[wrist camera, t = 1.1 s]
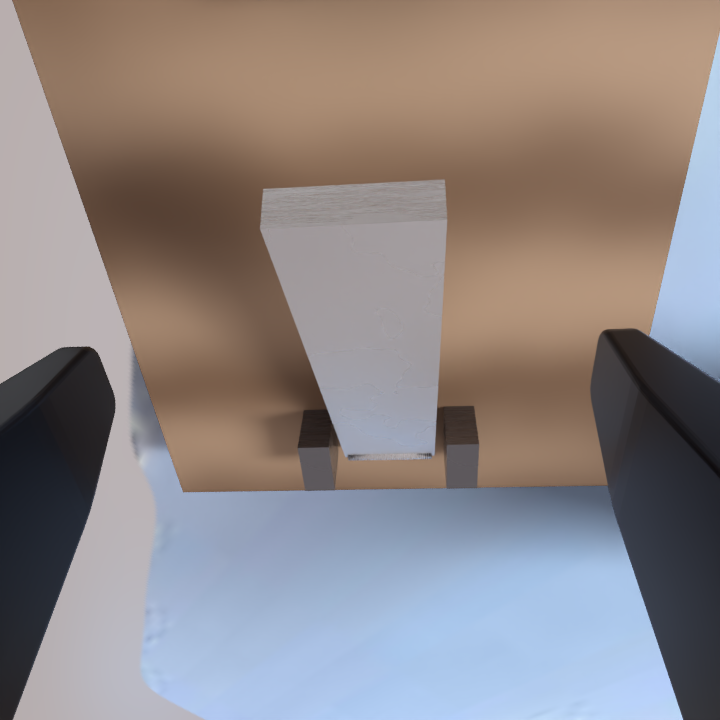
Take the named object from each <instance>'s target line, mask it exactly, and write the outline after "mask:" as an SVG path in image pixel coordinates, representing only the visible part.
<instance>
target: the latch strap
mask: <svg viewBox="0 0 720 720" xmlns="http://www.w3.org/2000/svg"><path fill="white" fill-rule="evenodd" d="M260 230H261V233H262V236H263V238H264V241H265V244H266V246H267V249H268V252H269V254H270V257H271V260H272V262H273V265H274V268H275V270H276V273H277V276H278V278H279V281H280V284H281V286H282V289H283V292H284V294H285V297H286V300H287V302H288V305H289V308H290V311H291V313H292V316H293V319H294V321H295V324H296V327H297V329H298V332H299V335H300V337H301V340H302V343H303V345H304V348H305V351H306V353H307V356H308V359H309V361H310V364H311V367H312V369H313V372H314V375H315V377H316V380H317V383H318V385H319V388H320V391H321V394H322V396H323V399H324V402H325V404H326V407H327V410H328V412H329V415H330V418H331V420H332V423H333V426H334V428H335V431H336V434H337V436H338V439H339V442H340V444H341V447H342V450H343V452H344V455H345V457H348V461H362V460H414V459H432V456H434V455H435V437H436V418H437V400H438V381H439V363H440V344H441V326H442V307H443V289H444V270H445V252H446V233H447V208H446V191H445V180H426V181H407V182H388V183H369V184H350V185H331V186H312V187H293V188H274V189H263V198H262V210H261V222H260Z"/></svg>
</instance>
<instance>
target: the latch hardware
mask: <svg viewBox="0 0 720 720" xmlns="http://www.w3.org/2000/svg"><path fill="white" fill-rule="evenodd" d="M443 450H444V463H445V476H446V488H477V481H478V460H479V439H478V431H477V424H476V417H475V410H474V406H446V407H444V442H443ZM338 453H339V450H338V443H337V435H336V431H335V428H334V426H333V423H332V420H331V418H330V415H329V412H328V410H304V412H303V418H302V424H301V430H300V436H299V442H298V454H299V459H300V465H301V470H302V476H303V481H304V487H305V491H314V490H335V484H336V474H337V464H338Z"/></svg>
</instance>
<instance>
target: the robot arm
mask: <svg viewBox="0 0 720 720" xmlns="http://www.w3.org/2000/svg"><path fill="white" fill-rule="evenodd" d="M590 395H591V402H592V407H593V413H594V418H595V423H596V428H597V433H598V438H599V443H600V448H601V453H602V458H603V463H604V468H605V473H606V478H607V484H608V488H609V493H610V497H611V502H612V506H613V509H614V513H615V516H616V519H617V523H618V526H619V529H620V532H621V535H622V538H623V541H624V544H625V547H626V550H627V553H628V556H629V559H630V561H631V564H632V567H633V570H634V573H635V576H636V579H637V582H638V585H639V588H640V591H641V594H642V597H643V600H644V603H645V606H646V609H647V612H648V615H649V618H650V621H651V624H652V627H653V630H654V633H655V636H656V639H657V642H658V645H659V648H660V651H661V654H662V657H663V660H664V663H665V666H666V669H667V672H668V675H669V678H670V681H671V684H672V687H673V690H674V693H675V696H676V699H677V702H678V705H679V708H680V711H681V714H682V717H683V720H720V382H718V381H717V380H715V379H714V378H712V377H711V376H709V375H708V374H706V373H705V372H703V371H702V370H700V369H699V368H697V367H695V366H694V365H692V364H691V363H689V362H688V361H686V360H685V359H683V358H682V357H680V356H679V355H677V354H675V353H674V352H672V351H671V350H669V349H668V348H666V347H665V346H663V345H662V344H660V343H659V342H657V341H656V340H654V339H652V338H651V337H649V336H648V335H646V334H645V333H643V332H642V331H640V330H638V329H635V328H625V329H606V330H604V331H603V332H602V333H601V334H600V336H599V338H598V343H597V348H596V354H595V360H594V365H593V371H592V377H591V383H590ZM114 413H115V397H114V393H113V390H112V388H111V385H110V383H109V380H108V378H107V375H106V372H105V370H104V367H103V365H102V362H101V359H100V357H99V355H98V353H97V352H96V351H95V350H94V349H92V348H90V347H64V348H60V349H58V350H56V351H54V352H53V353H51V354H49V355H48V356H46V357H45V358H43V359H41V360H39V361H38V362H36V363H34V364H33V365H31V366H29V367H28V368H26V369H24V370H23V371H21V372H19V373H18V374H16V375H14V376H13V377H11V378H9V379H8V380H6V381H5V382H3V383H1V384H0V720H13V718H14V715H15V712H16V710H17V707H18V704H19V702H20V699H21V696H22V694H23V691H24V688H25V686H26V683H27V680H28V677H29V675H30V672H31V670H32V667H33V664H34V661H35V658H36V656H37V653H38V651H39V648H40V645H41V643H42V640H43V637H44V634H45V632H46V629H47V627H48V624H49V621H50V619H51V616H52V613H53V610H54V608H55V605H56V602H57V600H58V597H59V594H60V592H61V589H62V586H63V583H64V581H65V578H66V576H67V573H68V570H69V568H70V565H71V562H72V560H73V557H74V554H75V552H76V549H77V546H78V543H79V541H80V538H81V535H82V533H83V530H84V527H85V524H86V521H87V519H88V516H89V513H90V509H91V506H92V502H93V499H94V495H95V491H96V487H97V483H98V479H99V475H100V471H101V467H102V463H103V458H104V454H105V451H106V446H107V442H108V438H109V434H110V430H111V425H112V422H113V418H114Z"/></svg>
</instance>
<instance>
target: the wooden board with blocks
mask: <svg viewBox="0 0 720 720" xmlns="http://www.w3.org/2000/svg"><path fill="white" fill-rule="evenodd" d="M12 1H13V3H14V6H15V9H16V12H17V15H18V18H19V21H20V24H21V26H22V29H23V32H24V35H25V38H26V41H27V44H28V47H29V50H30V52H31V55H32V58H33V61H34V64H35V67H36V70H37V72H38V76H39V78H40V81H41V84H42V87H43V90H44V93H45V96H46V99H47V101H48V104H49V107H50V110H51V113H52V116H53V119H54V122H55V125H56V127H57V130H58V133H59V136H60V139H61V142H62V144H63V147H64V150H65V153H66V156H67V159H68V162H69V165H70V168H71V170H72V174H73V176H74V179H75V182H76V185H77V188H78V191H79V194H80V196H81V199H82V202H83V205H84V208H85V211H86V213H87V217H88V220H89V222H90V225H91V228H92V231H93V234H94V236H95V240H96V242H97V246H98V248H99V251H100V254H101V257H102V260H103V263H104V266H105V268H106V271H107V274H108V277H109V280H110V283H111V286H112V289H113V292H114V294H115V297H116V300H117V303H118V306H119V309H120V312H121V315H122V318H123V320H124V323H125V326H126V329H127V332H128V335H129V338H130V341H131V343H132V346H133V349H134V352H135V355H136V358H137V361H138V364H139V367H140V369H141V372H142V375H143V378H144V381H145V384H146V387H147V390H148V392H149V395H150V398H151V401H152V404H153V407H154V410H155V413H156V415H157V418H158V421H159V424H160V427H161V430H162V433H163V436H164V439H165V441H166V444H167V447H168V450H169V453H170V456H171V459H172V462H173V464H174V467H175V470H176V473H177V476H178V479H179V482H180V485H181V487H182V490H183V492H225V491H289V490H305V487H304V481H303V476H302V470H301V465H300V459H299V454H298V442H299V436H300V430H301V424H302V418H303V412H304V410H327V407H326V404H325V402H324V399H323V396H322V394H321V391H320V388H319V385H318V383H317V380H316V377H315V375H314V372H313V369H312V367H311V364H310V361H309V359H308V356H307V353H306V351H305V348H304V345H303V343H302V340H301V337H300V335H299V332H298V329H297V327H296V324H295V321H294V319H293V316H292V313H291V311H290V308H289V305H288V302H287V300H286V297H285V294H284V292H283V289H282V286H281V284H280V281H279V278H278V276H277V273H276V270H275V268H274V265H273V262H272V260H271V257H270V254H269V252H268V249H267V246H266V244H265V241H264V238H263V236H262V233H261V230H260V222H261V210H262V198H263V189H274V188H293V187H312V186H331V185H350V184H369V183H388V182H407V181H426V180H445V191H446V208H447V233H446V252H445V270H444V289H443V307H442V326H441V344H440V363H439V381H438V400H437V418H436V437H435V455H434V456H432V459H414V460H362V461H348V457H345V455H344V452H343V450H342V447H341V444H340V442H339V439H338V436H337V443H338V450H339V453H338V464H337V474H336V484H335V490H353V489H417V488H446V476H445V463H444V450H443V442H444V407H446V406H474V410H475V417H476V424H477V431H478V439H479V460H478V481H477V488H481V487H545V486H608V484H607V478H606V473H605V468H604V463H603V458H602V453H601V448H600V443H599V438H598V433H597V428H596V423H595V418H594V413H593V407H592V402H591V395H590V383H591V377H592V371H593V365H594V360H595V354H596V348H597V343H598V338H599V336H600V334H601V333H602V332H603V331H604V330H606V329H625V328H635V329H638V330H640V331H642V332H643V333H645V334H646V335H648V336H649V334H650V330H651V326H652V321H653V317H654V313H655V308H656V304H657V300H658V296H659V291H660V287H661V283H662V278H663V274H664V270H665V265H666V261H667V257H668V252H669V248H670V244H671V239H672V235H673V231H674V226H675V222H676V218H677V213H678V209H679V205H680V201H681V196H682V192H683V188H684V183H685V179H686V175H687V170H688V166H689V162H690V157H691V153H692V149H693V144H694V140H695V136H696V131H697V127H698V123H699V118H700V114H701V110H702V106H703V101H704V97H705V93H706V88H707V84H708V80H709V75H710V71H711V67H712V62H713V58H714V54H715V49H716V45H717V41H718V36H719V32H720V0H12ZM336 435H337V434H336Z"/></svg>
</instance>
